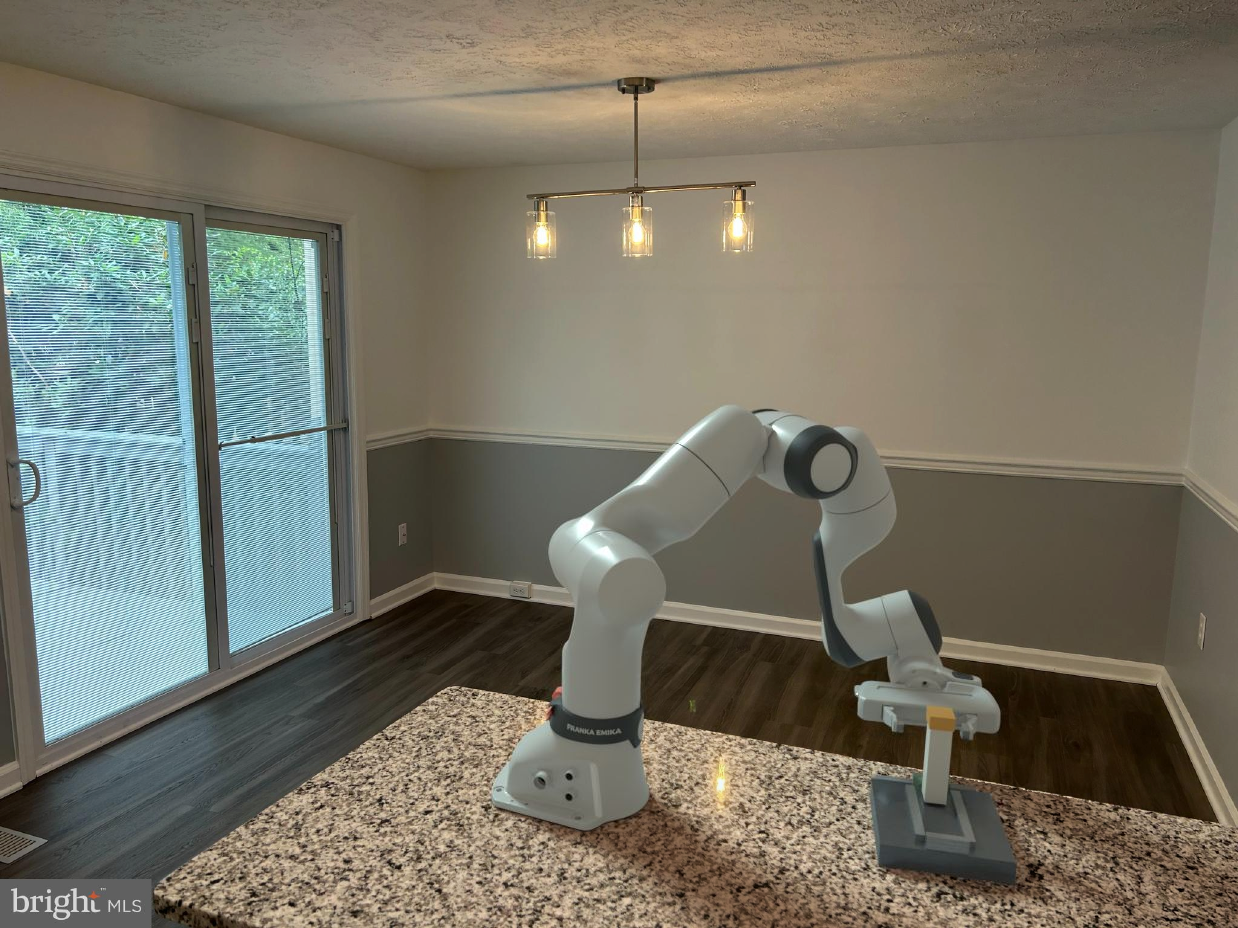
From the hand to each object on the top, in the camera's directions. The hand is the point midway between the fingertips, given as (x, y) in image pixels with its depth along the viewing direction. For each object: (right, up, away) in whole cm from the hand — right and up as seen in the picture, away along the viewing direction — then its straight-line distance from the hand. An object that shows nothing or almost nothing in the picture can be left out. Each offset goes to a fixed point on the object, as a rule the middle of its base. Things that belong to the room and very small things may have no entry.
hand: (932, 731), depth 124 cm
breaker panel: (-3, -11, -9) cm, 15 cm away
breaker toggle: (-2, -7, -5) cm, 9 cm away
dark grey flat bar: (-1, -10, +1) cm, 10 cm away
